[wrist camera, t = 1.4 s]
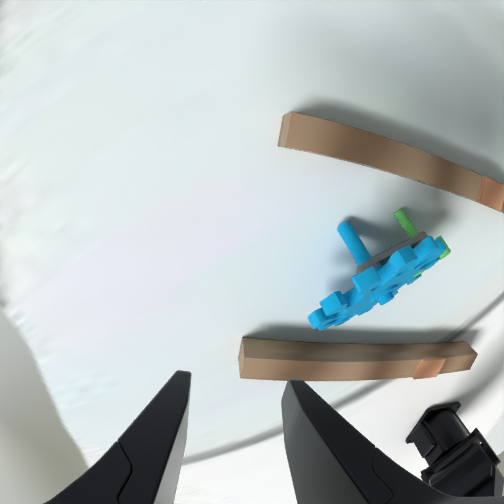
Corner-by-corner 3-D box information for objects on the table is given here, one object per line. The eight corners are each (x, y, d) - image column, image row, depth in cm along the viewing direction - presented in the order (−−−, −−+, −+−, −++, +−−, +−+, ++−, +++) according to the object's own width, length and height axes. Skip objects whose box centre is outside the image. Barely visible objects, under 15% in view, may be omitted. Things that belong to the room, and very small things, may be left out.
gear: (310, 348, 22) (332, 316, 13) (277, 280, 25) (276, 211, 16) (424, 286, 23) (486, 228, 14) (389, 230, 26) (430, 154, 17)
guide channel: (514, 196, 22) (534, 202, 19) (457, 357, 27) (470, 371, 24) (283, 115, 18) (292, 110, 16) (238, 358, 24) (240, 381, 21)
